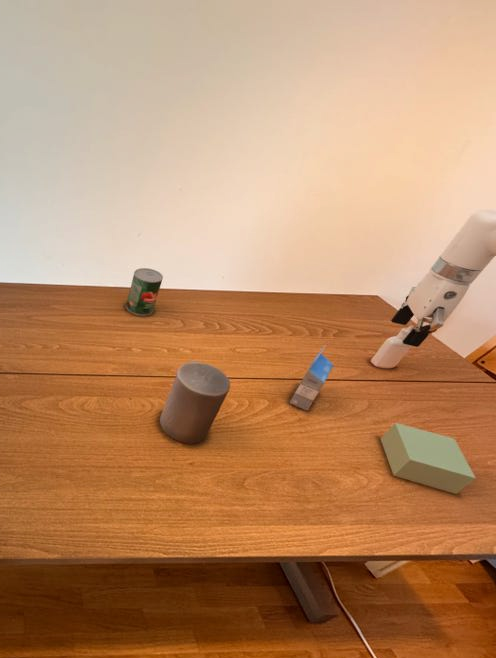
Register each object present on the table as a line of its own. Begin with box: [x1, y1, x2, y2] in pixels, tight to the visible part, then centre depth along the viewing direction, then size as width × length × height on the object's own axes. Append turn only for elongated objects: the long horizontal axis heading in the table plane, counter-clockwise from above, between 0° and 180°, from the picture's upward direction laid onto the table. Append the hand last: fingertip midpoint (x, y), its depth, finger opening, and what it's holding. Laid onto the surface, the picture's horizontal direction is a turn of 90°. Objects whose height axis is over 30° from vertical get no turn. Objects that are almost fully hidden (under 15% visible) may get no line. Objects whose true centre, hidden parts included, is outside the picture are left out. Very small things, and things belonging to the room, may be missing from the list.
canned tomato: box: [125, 267, 164, 317], centre depth 120 cm, size 8×8×11 cm
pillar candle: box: [159, 361, 231, 445], centre depth 83 cm, size 10×10×15 cm
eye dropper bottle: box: [370, 324, 415, 369], centre depth 104 cm, size 4×6×12 cm
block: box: [380, 422, 477, 495], centre depth 81 cm, size 10×10×5 cm
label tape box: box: [289, 344, 334, 412], centre depth 93 cm, size 9×4×12 cm, turn 137°
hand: (403, 333), depth 102 cm, fingers open, 9 cm apart
